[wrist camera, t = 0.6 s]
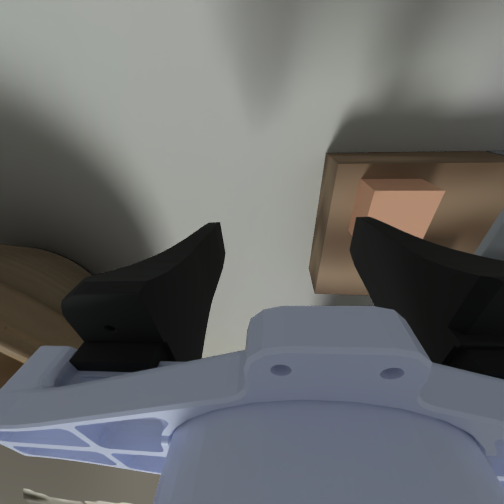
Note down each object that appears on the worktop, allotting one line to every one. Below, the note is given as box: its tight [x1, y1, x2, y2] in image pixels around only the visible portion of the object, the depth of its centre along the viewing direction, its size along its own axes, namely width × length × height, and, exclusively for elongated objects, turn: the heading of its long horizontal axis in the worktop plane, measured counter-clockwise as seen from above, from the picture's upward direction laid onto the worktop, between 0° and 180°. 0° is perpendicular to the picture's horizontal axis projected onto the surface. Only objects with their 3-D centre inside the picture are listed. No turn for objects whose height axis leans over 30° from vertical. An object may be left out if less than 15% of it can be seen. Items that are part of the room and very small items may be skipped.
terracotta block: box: [348, 179, 445, 239], centre depth 15 cm, size 4×4×2 cm
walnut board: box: [309, 151, 504, 295], centre depth 19 cm, size 12×12×4 cm
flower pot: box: [0, 244, 93, 389], centre depth 25 cm, size 28×28×13 cm
